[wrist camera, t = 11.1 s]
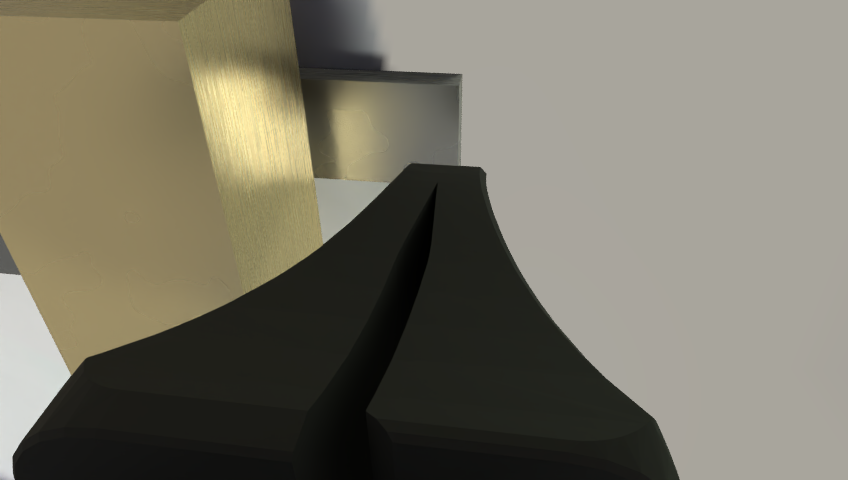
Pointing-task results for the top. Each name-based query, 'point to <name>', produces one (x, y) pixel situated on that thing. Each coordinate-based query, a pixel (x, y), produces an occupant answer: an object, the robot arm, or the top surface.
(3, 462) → the top surface
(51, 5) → the block
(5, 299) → the top surface
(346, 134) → the press bed
